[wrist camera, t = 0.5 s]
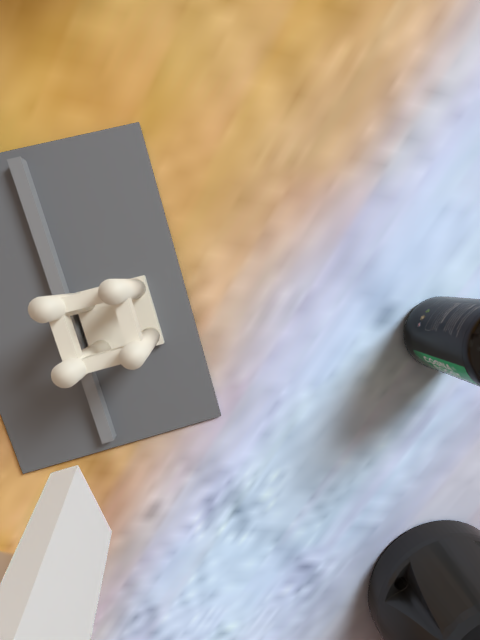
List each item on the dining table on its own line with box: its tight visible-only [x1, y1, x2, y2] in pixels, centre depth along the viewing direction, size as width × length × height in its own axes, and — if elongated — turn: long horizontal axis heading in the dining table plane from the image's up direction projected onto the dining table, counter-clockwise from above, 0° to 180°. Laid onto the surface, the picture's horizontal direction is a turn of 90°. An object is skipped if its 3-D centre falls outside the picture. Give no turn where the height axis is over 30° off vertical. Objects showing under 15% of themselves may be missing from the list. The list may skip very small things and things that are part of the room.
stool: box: [28, 275, 165, 388], centre depth 26 cm, size 6×6×9 cm
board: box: [0, 122, 221, 474], centre depth 29 cm, size 26×18×1 cm
